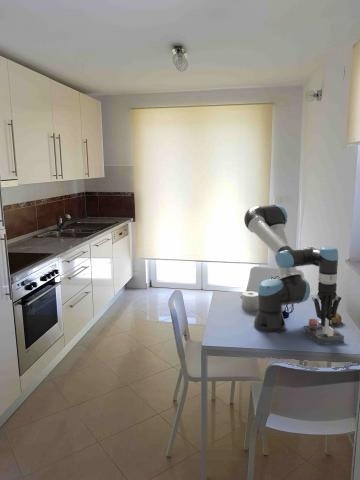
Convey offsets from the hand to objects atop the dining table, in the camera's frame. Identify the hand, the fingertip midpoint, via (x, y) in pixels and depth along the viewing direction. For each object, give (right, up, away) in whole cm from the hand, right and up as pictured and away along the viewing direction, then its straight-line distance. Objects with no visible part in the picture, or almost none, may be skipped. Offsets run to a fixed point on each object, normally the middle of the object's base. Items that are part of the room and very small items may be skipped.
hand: (325, 332), depth 171 cm
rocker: (+4, +2, +10) cm, 11 cm away
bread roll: (+12, -1, +23) cm, 26 cm away
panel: (+1, -3, +6) cm, 7 cm away
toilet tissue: (-26, +3, +46) cm, 53 cm away
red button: (-2, +1, +10) cm, 10 cm away
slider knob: (+2, -1, +1) cm, 2 cm away
